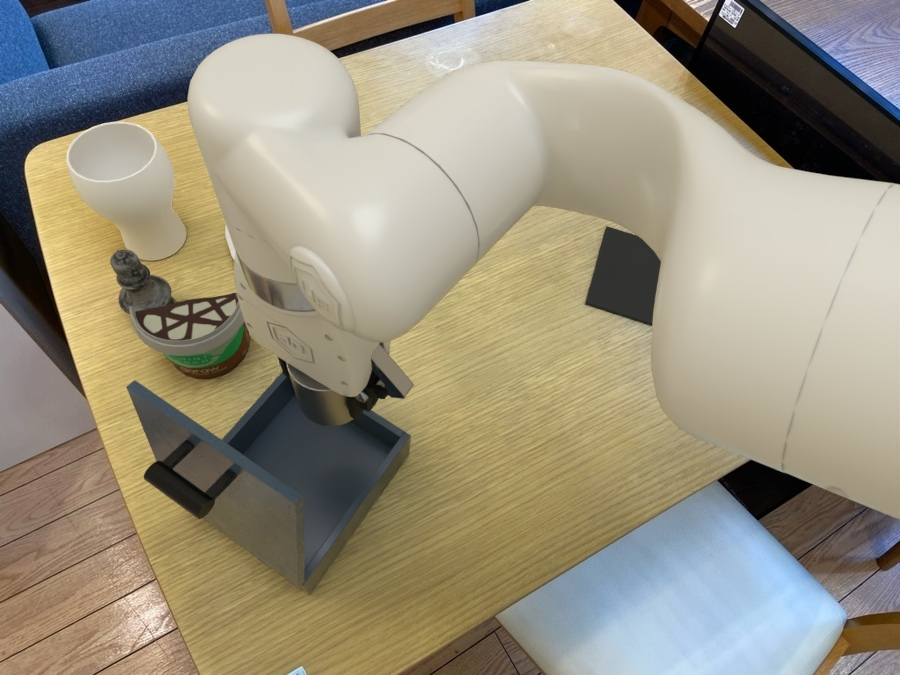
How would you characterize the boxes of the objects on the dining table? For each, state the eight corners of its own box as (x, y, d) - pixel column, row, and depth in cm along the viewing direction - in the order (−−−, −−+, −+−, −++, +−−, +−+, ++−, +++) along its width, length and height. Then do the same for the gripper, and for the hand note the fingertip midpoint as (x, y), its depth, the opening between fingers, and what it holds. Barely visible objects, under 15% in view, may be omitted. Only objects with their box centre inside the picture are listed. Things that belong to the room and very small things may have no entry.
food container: (158, 399, 71) (126, 357, 62) (155, 353, 74) (124, 307, 65) (269, 375, 74) (253, 332, 65) (261, 332, 76) (245, 284, 68)
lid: (134, 379, 46) (80, 422, 43) (303, 495, 43) (256, 550, 40) (175, 488, 60) (137, 526, 57) (305, 581, 57) (270, 626, 54)
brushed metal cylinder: (377, 376, 56) (375, 336, 50) (351, 436, 53) (346, 401, 47) (315, 355, 56) (306, 313, 50) (286, 413, 53) (272, 376, 47)
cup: (173, 195, 86) (135, 105, 73) (213, 244, 82) (180, 158, 70) (98, 230, 82) (43, 142, 69) (136, 284, 78) (86, 201, 65)
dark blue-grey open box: (299, 383, 73) (292, 359, 68) (409, 454, 70) (411, 435, 65) (190, 508, 65) (174, 492, 60) (310, 595, 62) (302, 586, 57)
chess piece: (143, 340, 75) (103, 282, 64) (120, 307, 77) (78, 245, 66) (188, 315, 77) (157, 255, 66) (165, 283, 79) (131, 220, 68)
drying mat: (701, 257, 88) (703, 255, 88) (689, 338, 81) (690, 336, 81) (605, 228, 89) (606, 225, 89) (584, 304, 82) (585, 302, 82)
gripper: (149, 226, 37) (221, 366, 53) (388, 368, 34) (390, 474, 49) (235, 153, 41) (279, 305, 56) (460, 275, 37) (441, 402, 53)
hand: (331, 383), depth 53 cm, fingers closed on brushed metal cylinder, 6 cm apart
